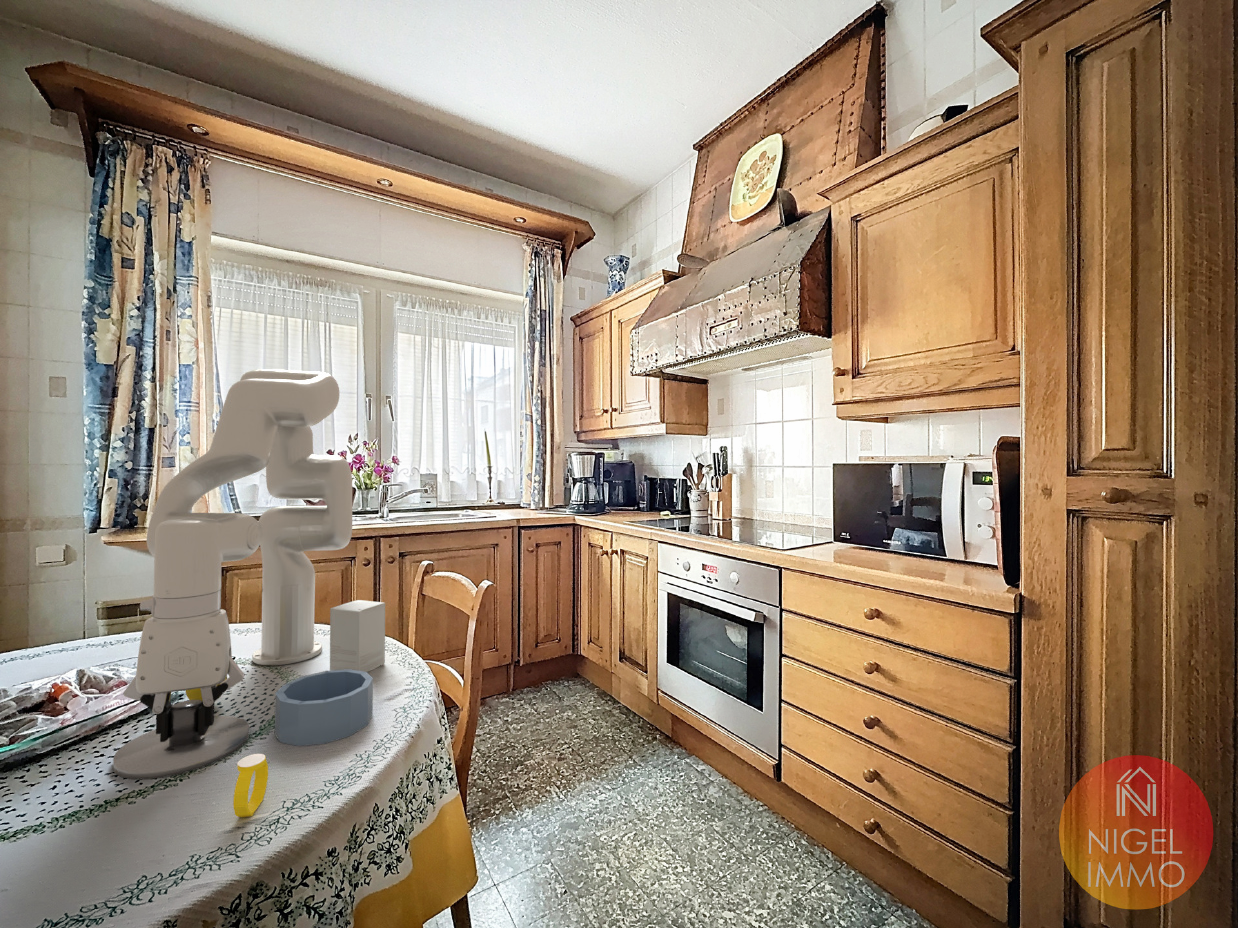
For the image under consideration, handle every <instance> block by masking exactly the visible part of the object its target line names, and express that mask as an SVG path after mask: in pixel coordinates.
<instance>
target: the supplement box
mask: <svg viewBox="0 0 1238 928" xmlns="http://www.w3.org/2000/svg"><path fill="white" fill-rule="evenodd" d="M329 610H330V611H329V615H330V616H329V617H330V618H329V620H330V621H329V622H330V623H329V671H331V670H346V669H350V670H357V671H363V672H367V673H368V672H370V671H373V670H375V669H377V668H378V667H381V666H383V665H385V663H386V659H385V658H386V654H385V653H386V602H383V601H382V602H380V601H372V600H362V599H357V600H353V601H349V602H345V603H343V604H340V605H337V606H333V607H330V609H329ZM380 665H381V666H380ZM372 669H373V670H372Z"/></svg>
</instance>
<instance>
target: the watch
mask: <svg viewBox="0 0 1238 928" xmlns="http://www.w3.org/2000/svg"><path fill="white" fill-rule="evenodd" d="M267 761H268V760H267V757H266V755H265V754H263V753H252V754H249V755H246V756H244V757H243V758H241V759H240V760H238V761H237V766H236V769H237V771H238V772H239V774H238V776H237V780H236V784H235V787H234V792H233V793H234V794H233V812H234V815H235V816H236V817H237V818H239V817H241V818H246V817H247V818H249V817H253V816H255V815H254V814H255V812H256V811H257V809H258V808H259V807H260V805H261V804H262V802H263V801H264V798H265V794H266V790H267V787H268V780H269V764H268V762H267ZM253 775H254V782H253V788H252V792H251V795H250V798H249V791H250V786H251V782H252V778H253Z"/></svg>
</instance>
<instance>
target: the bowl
mask: <svg viewBox="0 0 1238 928" xmlns="http://www.w3.org/2000/svg"><path fill="white" fill-rule="evenodd" d="M274 696H275V697H274V734H275V736H276V738H277V740H278V742H279V743H283V744H288V745H291V746H296V747H301V746H313V745H323V744H324V745H325V744H328V743H332V742H334V741H338V740H341V739H344V738H348V737H350V736H352V735H354V734H355V733H357V732H359V731H361V729H364V728H365V727H367V726H368V725H369V723H370V721H371V719H372V717H373V711H374V710H373V706H374V702H373V698H374V677H372V676H371V675H370V674H369V673H368V672H363V671H357V670H350V669H346V670H331V671H330V670H325V671H324V670H323V671H319V672H314V673H312V674H311V673H310V674H307V675H303V676H300V677H298V678H295V679H293V680H291V681H289V682H286V683H284V684H283V685H282V686H281V687H280V688H279V689H278V690H276V692H275V693H274Z"/></svg>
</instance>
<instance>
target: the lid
mask: <svg viewBox="0 0 1238 928" xmlns="http://www.w3.org/2000/svg"><path fill="white" fill-rule="evenodd" d="M201 705H202V701H201V700H189V699H188V700H184V701H180V702H177V703H174V704H173V706H171V707H170V723H169V739H168V740H166V741H165V742H160V734H156V728H155V729H153V730H150V731H148V732H145V733H143V734H141V735H139V736H137V737H135V738H133V739H132V740H130V741H128V742H126V743H125V744H124V745H122V746H121V747H119V749H118V750H117V751H116V752H115V754H114V755H113V759H112V770H113V772H114V774H116V775H117V776H119V777H121V778H124V779H128V780H130V779H131V780H151V779H160V778H167V777H171V776H176V775H180V774H185V773H188V772H193V771H195V770H198V769H201V768H204V767H206V766H209V765H212V764H215V763H216V762H219V761H221V760H223V759H225V758H226V757H228V756H230V755H232V754H233V753H236V751H238V750H239V749H241V748H242V747H243V746H244V745H245V744H246V743H247V741H248V740H249V737H250V723H249V722H248V721H247V720H246V719H244V718H241V717H237V716H232V715H214V723H213V725H212V726H209V728H208V730H207V731H206V733H205V735H202V736H200V735H198V710H199V708H200V706H201Z"/></svg>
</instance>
